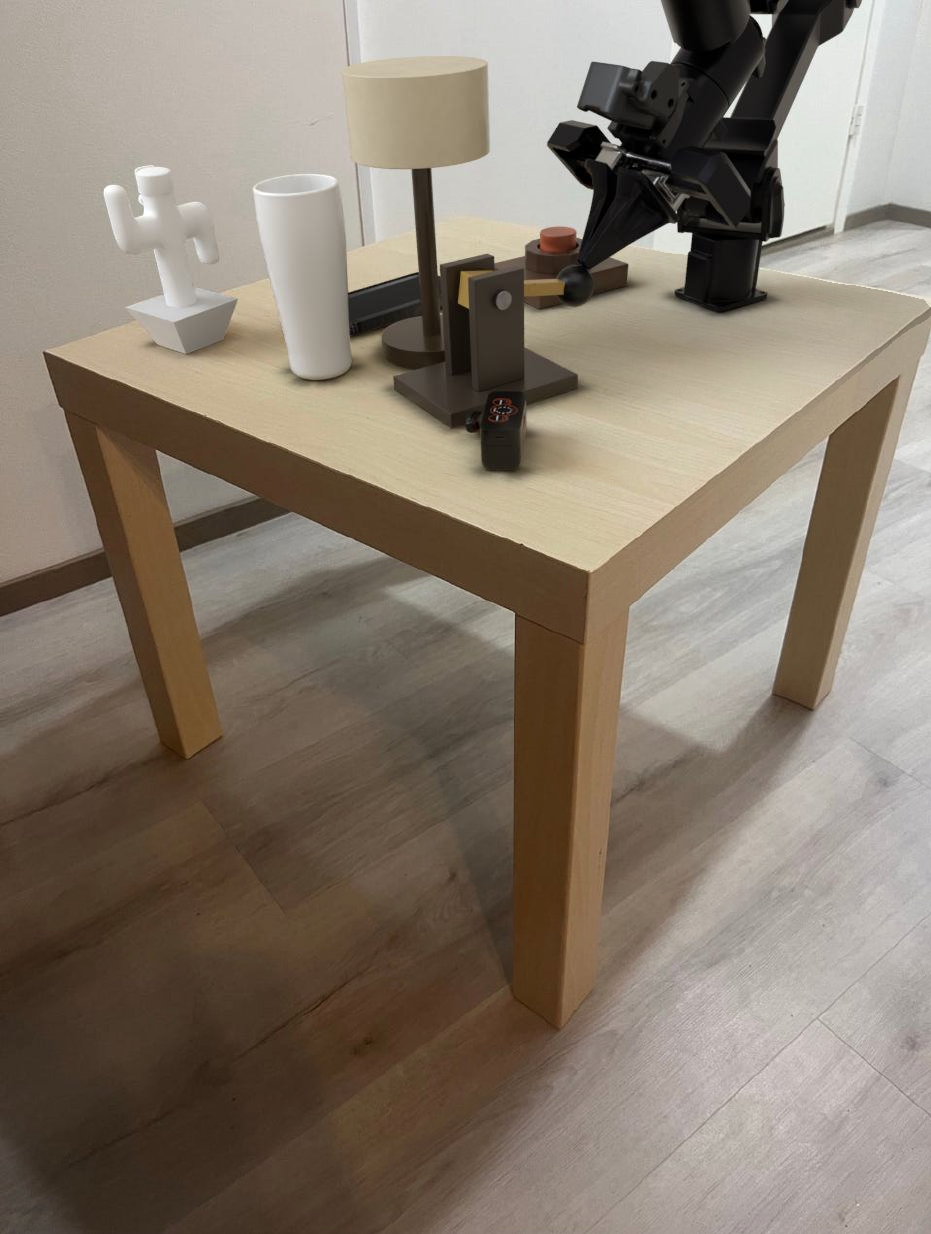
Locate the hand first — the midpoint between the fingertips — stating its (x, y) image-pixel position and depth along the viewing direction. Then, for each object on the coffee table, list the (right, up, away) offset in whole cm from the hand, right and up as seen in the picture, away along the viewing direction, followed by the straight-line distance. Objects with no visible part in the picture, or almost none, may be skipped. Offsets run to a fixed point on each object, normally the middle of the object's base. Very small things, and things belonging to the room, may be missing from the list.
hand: (582, 265), depth 75 cm
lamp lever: (-4, -4, -1) cm, 6 cm away
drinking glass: (-22, -7, +6) cm, 24 cm away
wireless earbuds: (-7, -16, -7) cm, 19 cm away
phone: (-17, +2, +17) cm, 24 cm away
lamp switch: (-8, -10, +1) cm, 12 cm away
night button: (0, +9, +18) cm, 20 cm away
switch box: (0, +6, +21) cm, 21 cm away
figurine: (-35, -3, +12) cm, 37 cm away
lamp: (-12, -4, +8) cm, 15 cm away
